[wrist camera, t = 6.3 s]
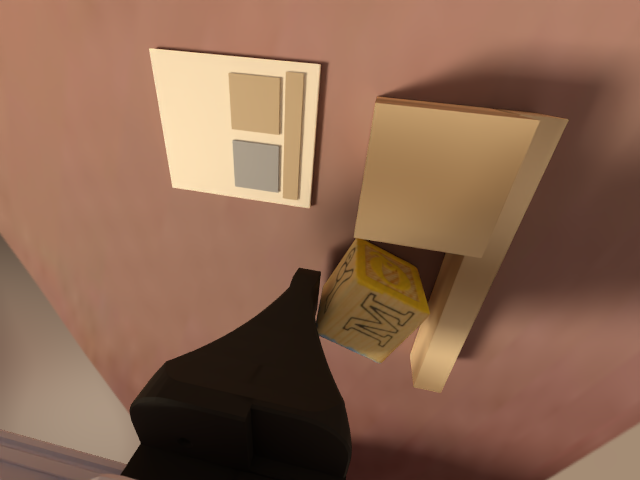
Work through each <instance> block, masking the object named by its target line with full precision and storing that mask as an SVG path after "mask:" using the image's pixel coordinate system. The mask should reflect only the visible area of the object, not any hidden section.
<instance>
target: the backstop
mask: <svg viewBox="0 0 640 480" xmlns="http://www.w3.org/2000/svg"><path fill="white" fill-rule="evenodd" d="M496 110H499V111H503V112H507V113H511V114H515V115H520V116H524V117H528V118H532V119H536V120H540V122H539V124H538V127H537V129H536V131H535V134H534V136H533V138H532V141H531V143H530V146H529V148H528V150H527V153H526V155H525V157H524V160H523V162H522V164H521V167H520V169H519V171H518V174H517V176H516V178H515V181H514V183H513V186H512V188H511V190H510V193H509V195H508V197H507V200H506V202H505V204H504V207H503V209H502V211H501V214H500V216H499V218H498V221H497V223H496V226H495V228H494V230H493V233H492V235H491V237H490V240H489V242H488V244H487V247H486V249H485V251H484V254H483V256H482V258H477V257H471V256H465V255H459V254H452V253H445V256H444V259H443V262H442V265H441V268H440V271H439V273H438V276H437V279H436V282H435V285H434V288H433V291H432V294H431V296H430V299H429V302H428V307H429V311H430V315H429V317H428V318H427V319H426V320H425V321H424V322H423V323H422V324H421V325H420V328H419V331H418V334H417V336H416V339H415V342H414V345H413V348H412V351H411V354H410V359H411V369H412V378H413V387H416V388H420V389H425V390H430V391H434V392H439V393H441V391H442V389H443V387H444V385H445V382H446V380H447V378H448V376H449V374H450V372H451V370H452V368H453V365H454V363H455V361H456V359H457V357H458V355H459V353H460V350H461V348H462V346H463V344H464V342H465V340H466V338H467V336H468V333H469V331H470V329H471V327H472V325H473V323H474V321H475V319H476V316H477V314H478V312H479V310H480V308H481V306H482V304H483V301H484V299H485V297H486V295H487V293H488V291H489V289H490V287H491V284H492V282H493V280H494V278H495V276H496V274H497V272H498V270H499V267H500V265H501V263H502V261H503V259H504V257H505V255H506V252H507V250H508V248H509V246H510V244H511V242H512V240H513V238H514V235H515V233H516V231H517V229H518V227H519V225H520V223H521V221H522V218H523V216H524V214H525V212H526V210H527V208H528V206H529V203H530V201H531V199H532V197H533V195H534V193H535V191H536V189H537V186H538V184H539V182H540V180H541V178H542V176H543V174H544V172H545V169H546V167H547V165H548V163H549V161H550V159H551V157H552V154H553V152H554V150H555V148H556V146H557V144H558V142H559V140H560V137H561V135H562V133H563V131H564V129H565V127H566V125H567V123H568V120H569V119H565V118H560V117H554V116H549V115H544V114H539V113H532V112H522V111H513V110H503V109H496Z"/></svg>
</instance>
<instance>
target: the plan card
mask: <svg viewBox="0 0 640 480" xmlns="http://www.w3.org/2000/svg"><path fill="white" fill-rule="evenodd" d="M149 51H150V56H151V62H152V68H153V74H154V80H155V86H156V92H157V98H158V104H159V110H160V116H161V122H162V128H163V134H164V140H165V145H166V151H167V157H168V163H169V169H170V175H171V181H172V187H173V188H180V189H186V190H193V191H200V192H206V193H213V194H219V195H226V196H232V197H239V198H245V199H252V200H258V201H265V202H272V203H278V204H285V205H291V206H298V207H304V208H310V206H311V193H312V180H313V167H314V153H315V140H316V127H317V114H318V100H319V87H320V74H321V64H312V63H301V62H290V61H280V60H269V59H258V58H248V57H237V56H226V55H216V54H205V53H194V52H184V51H173V50H162V49H152V48H149Z"/></svg>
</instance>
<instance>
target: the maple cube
mask: <svg viewBox="0 0 640 480" xmlns="http://www.w3.org/2000/svg"><path fill="white" fill-rule="evenodd" d="M539 122H540V120H536V119H532V118H528V117H524V116H520V115H515V114H511V113H507V112H503V111H499V110H494V109H490V108H484V107H474V106H465V105H455V104H445V103H436V102H426V101H417V100H407V99H397V98H388V97H378V96H377V98H376V102H375V108H374V115H373V121H372V127H371V133H370V139H369V145H368V152H367V158H366V164H365V170H364V176H363V182H362V189H361V195H360V201H359V207H358V213H357V219H356V225H355V232H354V238H360V239H366V240H372V241H378V242H384V243H391V244H397V245H403V246H409V247H415V248H422V249H428V250H434V251H440V252H446V253H452V254H459V255H465V256H471V257H477V258H482V256H483V254H484V251H485V249H486V247H487V244H488V242H489V240H490V237H491V235H492V233H493V230H494V228H495V226H496V223H497V221H498V218H499V216H500V214H501V211H502V209H503V207H504V204H505V202H506V200H507V197H508V195H509V193H510V190H511V188H512V186H513V183H514V181H515V178H516V176H517V174H518V171H519V169H520V167H521V164H522V162H523V160H524V157H525V155H526V153H527V150H528V148H529V146H530V143H531V141H532V138H533V136H534V134H535V131H536V129H537V127H538V124H539Z"/></svg>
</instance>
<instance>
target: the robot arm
mask: <svg viewBox="0 0 640 480" xmlns="http://www.w3.org/2000/svg"><path fill="white" fill-rule="evenodd" d="M320 276H321V272H320V271H314V270H309V269H303V268H299V269H298V270H297V272H296V273H295V275H294V276H293V279H292V281H291V284H290V287H289V288H288V289H287V290H286V291H285V292H284V293H283V294H282V295H281V296H280V297H279V298H278V299H276V300H275V301H274V302H273V303H272V304H270V305H269V306H268V307H267V308H266V309H264V310H263V311H262V312H261V313H259V314H258V315H257V316H255V317H254V318H252V319H251V320H249V321H248V322H247V323H245V324H243V325H242V326H240V327H239V328H237V329H235V330H234V331H232V332H230V333H229V334H227V335H225V336H223V337H221V338H219V339H217V340H215V341H213V342H212V343H210V344H208V345H205V346H203V347H201V348H199V349H197V350H194V351H192V352H189V353H187V354H184V355H182V356H179V357H177V358H174V359H172V360H169V361H166V362H165V363H164V365H163V366H162V367H161V368H160V369H159V370H158V371H157V372H156V373H155V374H154V376H153V377H152V378H151V379H150V380H149V382H148V383H147V384H146V386H145V387H144V388H143V390H142V391H141V392H140V394H139V395H138V396H137V397H136V399H135V400H134V401H133V403H132V404H131V407H130V410H129V411H130V416H131V421H132V423H133V425H134V428H135V430H136V433H137V435H138V437H139V440H140V442H141V444H140V446H139V447H138V449H137V450H136V452H135V453H134V455H133V456H132V458H131V459H130V461H129V462H128V464H124V463H121V462H117V461H113V460H110V459H106V458H103V457H99V456H95V455H92V454H88V453H84V452H81V451H77V450H74V449H70V448H66V447H63V446H59V445H55V444H52V443H48V442H45V441H41V440H37V439H34V438H30V437H26V436H23V435H19V434H15V433H12V432H8V431H5V430H1V429H0V480H346V474H347V471H348V467H349V463H350V460H351V454H352V445H351V434H350V428H349V423H348V417H347V413H346V408H345V403H344V400H343V398H342V396H341V394H340V392H339V390H338V388H337V385H336V383H335V381H334V379H333V376H332V374H331V371H330V369H329V366H328V363H327V361H326V358H325V355H324V352H323V349H322V346H321V342H320V339H319V335H318V331H317V326H316V321H315V315H316V311H317V305H318V295H319V285H320Z"/></svg>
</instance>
